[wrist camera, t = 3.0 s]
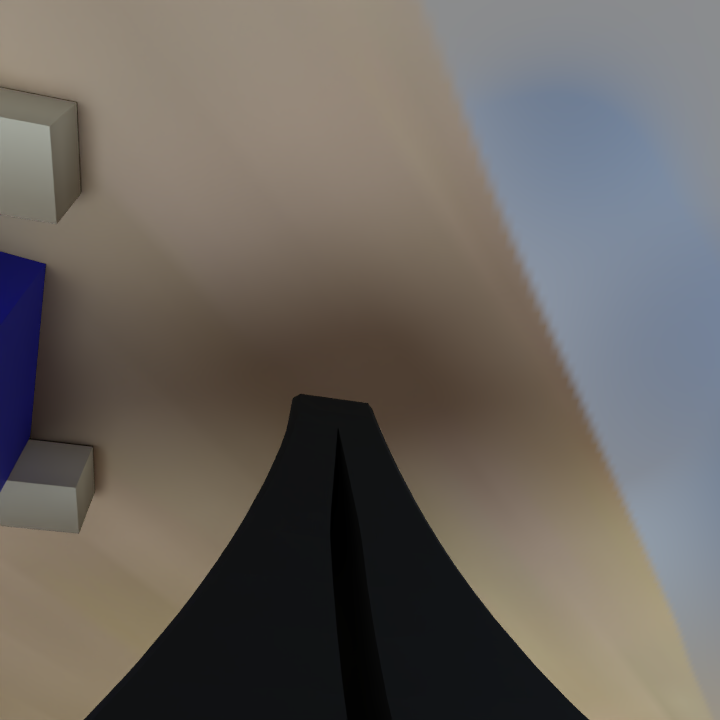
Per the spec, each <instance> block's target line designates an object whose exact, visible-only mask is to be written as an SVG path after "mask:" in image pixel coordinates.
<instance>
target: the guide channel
mask: <svg viewBox="0 0 720 720" xmlns="http://www.w3.org/2000/svg"><path fill="white" fill-rule="evenodd" d="M80 194H81V187H80V166H79V145H78V123H77V102H72V101H67V100H62V99H56V98H51V97H46V96H41V95H36V94H31V93H26V92H21V91H16V90H11V89H6V88H1V87H0V215H5V216H11V217H17V218H23V219H28V220H34V221H40V222H46V223H52V224H57V223H58V222H59V221H60V219H61V218H62V217H63V215H64V214H65V213H66V212H67V210H68V209H69V208H70V207H71V205H72V204H73V203H74V202H75V200H76V199H77V198H78V196H79V195H80ZM94 493H95V486H94V464H93V447H89V446H81V445H72V444H64V443H55V442H47V441H38V440H30V439H29V440H28V442H27V444H26V446H25V447H24V449H23V451H22V453H21V455H20V457H19V458H18V460H17V462H16V464H15V466H14V468H13V470H12V471H11V473H10V475H9V477H8V479H7V481H6V483H5V484H4V486H3V488H2V490H1V492H0V526H7V527H17V528H27V529H38V530H48V531H58V532H69V533H79V532H80V530H81V527H82V524H83V522H84V519H85V516H86V514H87V511H88V509H89V506H90V503H91V501H92V498H93V495H94Z"/></svg>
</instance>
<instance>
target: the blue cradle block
mask: <svg viewBox="0 0 720 720" xmlns="http://www.w3.org/2000/svg"><path fill="white" fill-rule="evenodd" d="M45 268H46V264H44V263H40V262H37V261H33V260H29V259H26V258H22V257H19V256H15V255H11V254H8V253H4V252H0V492H1V490H2V488H3V486H4V484H5V483H6V481H7V479H8V477H9V475H10V473H11V471H12V470H13V468H14V466H15V464H16V462H17V460H18V458H19V457H20V455H21V453H22V451H23V449H24V447H25V446H26V444H27V442H28V440H29V438H30V434H31V423H32V412H33V401H34V390H35V379H36V368H37V357H38V346H39V335H40V324H41V313H42V302H43V291H44V280H45Z"/></svg>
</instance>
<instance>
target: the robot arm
mask: <svg viewBox="0 0 720 720" xmlns="http://www.w3.org/2000/svg"><path fill="white" fill-rule="evenodd" d="M84 720H589V719H588V718H587V717H585V716H584V715H583V714H582V713H581V712H580V711H579V710H578V709H577V708H576V707H575V706H574V705H573V704H572V703H571V702H570V701H569V700H568V699H567V698H566V697H565V696H564V695H563V694H562V693H561V692H560V691H559V690H558V689H557V688H556V687H555V686H554V685H553V684H552V683H551V682H550V681H549V680H548V679H547V677H546V676H545V675H544V674H543V673H542V672H541V671H540V670H539V669H538V668H537V667H536V666H535V665H534V664H533V662H532V661H531V660H530V659H529V658H528V657H527V655H526V654H525V653H524V652H523V651H522V650H521V649H520V647H519V646H518V645H517V644H516V643H515V642H514V640H513V639H512V638H511V637H510V636H509V635H508V634H507V632H506V631H505V630H504V629H503V628H502V627H501V625H500V624H499V623H498V622H497V621H496V620H495V618H494V617H493V616H492V615H491V613H490V612H489V611H488V609H487V608H486V607H485V605H484V604H483V603H482V602H481V600H480V599H479V598H478V596H477V595H476V594H475V592H474V591H473V590H472V589H471V587H470V586H469V584H468V583H467V582H466V580H465V579H464V577H463V576H462V575H461V573H460V572H459V570H458V569H457V568H456V566H455V565H454V563H453V562H452V560H451V559H450V557H449V556H448V554H447V553H446V551H445V550H444V548H443V547H442V545H441V543H440V542H439V540H438V539H437V537H436V535H435V534H434V532H433V530H432V529H431V527H430V526H429V524H428V522H427V521H426V519H425V517H424V516H423V514H422V512H421V510H420V509H419V507H418V505H417V503H416V501H415V500H414V498H413V496H412V494H411V492H410V490H409V488H408V486H407V485H406V483H405V481H404V479H403V477H402V475H401V473H400V471H399V469H398V467H397V465H396V463H395V461H394V459H393V457H392V455H391V452H390V450H389V448H388V446H387V444H386V442H385V439H384V437H383V435H382V433H381V430H380V428H379V425H378V423H377V421H376V418H375V416H374V413H373V410H372V408H371V407H370V406H369V404H368V403H362V402H355V401H348V400H340V399H333V398H326V397H319V396H311V395H304V394H299V395H298V396H296V397H294V398H293V400H292V405H291V410H290V415H289V420H288V425H287V430H286V433H285V436H284V438H283V441H282V444H281V447H280V449H279V451H278V453H277V456H276V458H275V460H274V462H273V464H272V467H271V469H270V471H269V473H268V476H267V478H266V480H265V482H264V484H263V485H262V487H261V489H260V491H259V493H258V495H257V496H256V498H255V500H254V502H253V504H252V505H251V507H250V509H249V511H248V513H247V515H246V516H245V518H244V520H243V521H242V523H241V525H240V526H239V528H238V530H237V531H236V533H235V534H234V536H233V538H232V539H231V541H230V542H229V544H228V545H227V547H226V548H225V550H224V551H223V553H222V554H221V556H220V557H219V559H218V560H217V562H216V563H215V565H214V566H213V568H212V569H211V570H210V572H209V573H208V574H207V576H206V577H205V579H204V580H203V581H202V583H201V584H200V586H199V587H198V588H197V590H196V591H195V592H194V594H193V595H192V596H191V598H190V599H189V600H188V602H187V603H186V604H185V606H184V607H183V608H182V609H181V611H180V612H179V613H178V615H177V616H176V617H175V618H174V619H173V621H172V622H171V623H170V624H169V625H168V627H167V628H166V629H165V630H164V631H163V633H162V634H161V635H160V636H159V637H158V639H157V640H156V641H155V642H154V643H153V644H152V646H151V647H150V648H149V649H148V650H147V652H146V653H145V654H144V655H143V656H142V658H141V659H140V660H139V661H138V662H137V663H136V665H135V666H134V667H133V668H132V669H131V670H130V671H129V672H128V674H127V675H126V676H125V677H124V678H123V679H122V680H121V681H120V682H119V683H118V684H117V685H116V686H115V687H114V688H113V689H112V691H111V692H110V693H109V694H108V695H107V696H106V697H105V698H104V699H103V700H102V701H101V702H100V703H99V704H98V705H97V706H96V707H95V709H94V710H93V711H92V712H91V713H90V714H89V715H88V716H87V717H86V718H85V719H84Z"/></svg>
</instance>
